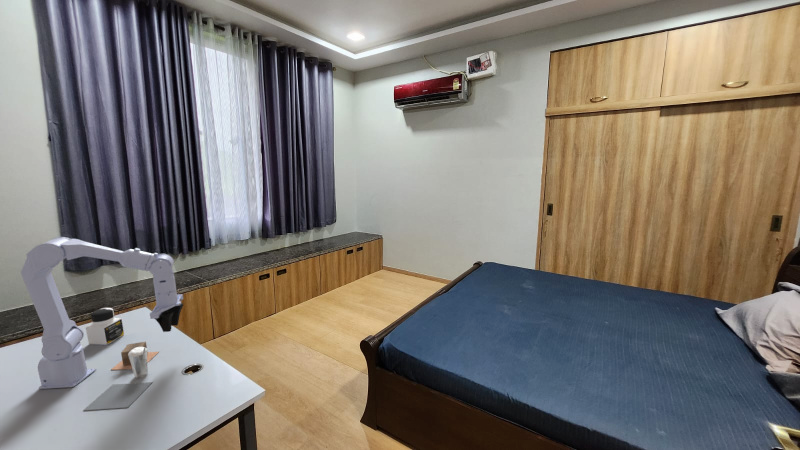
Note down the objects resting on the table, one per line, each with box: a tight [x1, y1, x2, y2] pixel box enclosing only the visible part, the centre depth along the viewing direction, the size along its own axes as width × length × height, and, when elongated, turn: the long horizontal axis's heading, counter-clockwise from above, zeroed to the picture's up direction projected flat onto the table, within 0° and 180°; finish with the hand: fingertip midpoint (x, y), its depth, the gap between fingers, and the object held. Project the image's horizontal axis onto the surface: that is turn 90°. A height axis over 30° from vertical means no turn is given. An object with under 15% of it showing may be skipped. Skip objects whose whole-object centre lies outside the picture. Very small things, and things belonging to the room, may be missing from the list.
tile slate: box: [83, 381, 153, 412], centre depth 89 cm, size 11×10×1 cm
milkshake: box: [128, 347, 149, 379], centre depth 96 cm, size 5×5×10 cm
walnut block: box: [120, 341, 149, 366], centre depth 104 cm, size 5×5×5 cm
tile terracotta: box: [110, 351, 160, 371], centre depth 104 cm, size 9×9×1 cm
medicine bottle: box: [85, 307, 125, 345], centre depth 116 cm, size 7×7×12 cm
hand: (170, 328), depth 106 cm, fingers open, 3 cm apart
